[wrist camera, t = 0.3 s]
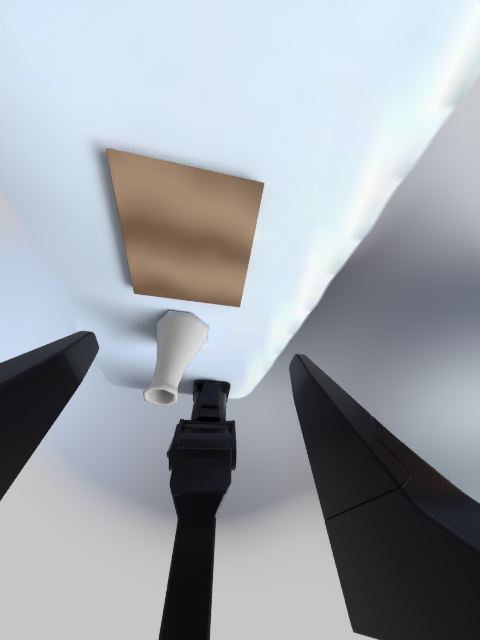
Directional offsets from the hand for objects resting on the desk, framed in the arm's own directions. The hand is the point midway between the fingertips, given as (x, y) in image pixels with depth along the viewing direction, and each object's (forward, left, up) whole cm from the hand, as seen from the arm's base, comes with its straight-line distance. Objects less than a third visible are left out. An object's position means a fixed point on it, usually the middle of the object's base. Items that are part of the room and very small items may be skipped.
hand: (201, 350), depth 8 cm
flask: (-11, +4, -14) cm, 18 cm away
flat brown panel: (+1, +3, -14) cm, 15 cm away
